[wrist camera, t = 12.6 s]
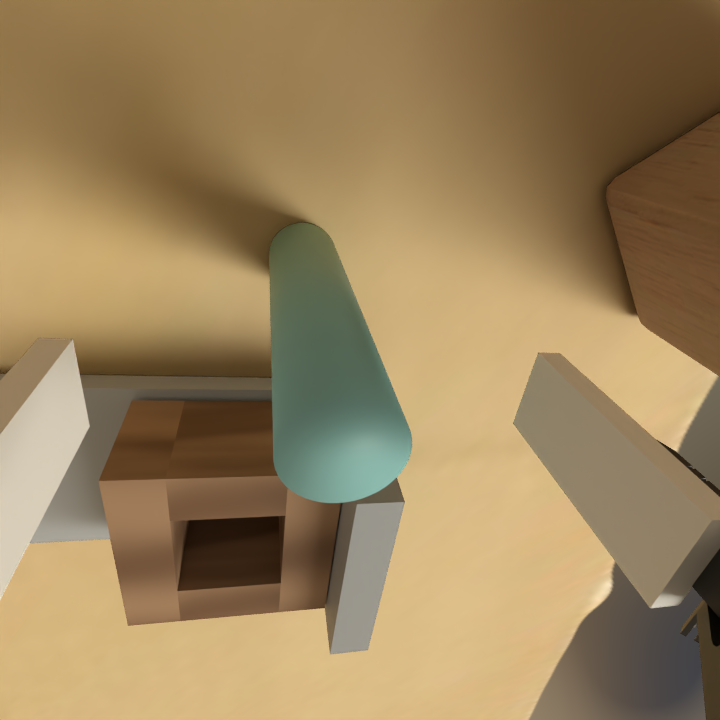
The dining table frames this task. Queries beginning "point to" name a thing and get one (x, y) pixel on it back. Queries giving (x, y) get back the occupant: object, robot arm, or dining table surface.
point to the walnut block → (210, 516)
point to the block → (674, 240)
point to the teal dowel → (327, 378)
